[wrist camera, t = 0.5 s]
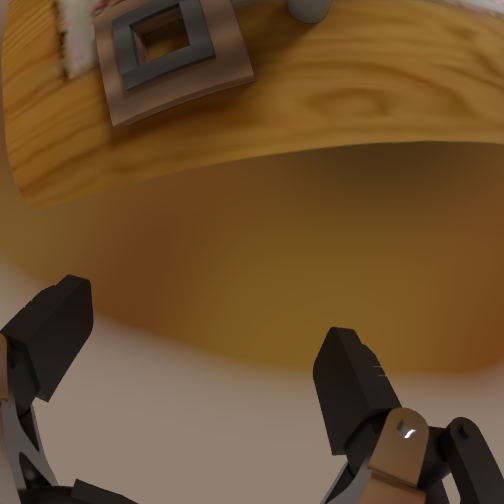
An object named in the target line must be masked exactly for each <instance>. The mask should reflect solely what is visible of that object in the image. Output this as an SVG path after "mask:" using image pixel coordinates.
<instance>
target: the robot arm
mask: <svg viewBox="0 0 504 504" xmlns="http://www.w3.org/2000/svg"><path fill="white" fill-rule="evenodd" d="M92 328H93V308H92V294H91V284H90V281H89V280H88V279H84V278H80V277H77V276H73V275H67V276H66V277H65V278H63V279H62V280H61V281H60V282H59V283H58V284H57V285H56V286H55V285H53V286H51V287H48V288H46V289H44V290H42V291H41V292H40V293H38V294H37V295H36V296H35V297H34V298H33V299H32V301H30V302H29V303H28V304H27V305H26V306H25V308H22V309H21V310H20V311H19V312H18V313H17V314H16V315H15V316H14V317H13V318H12V319H11V320H10V321H9V322H8V323H7V324H6V325H5V326H4V327H3V328H2V329H1V330H0V504H138V503H136V502H134V501H132V500H130V499H128V498H126V497H124V496H123V495H120V494H117V493H114V492H111V491H108V490H104V489H102V488H99V487H96V486H94V485H91V484H88V483H86V482H83V481H81V480H78V479H76V481H75V484H74V486H73V487H70V486H59V485H58V482H57V480H56V478H55V475H54V473H53V471H52V469H51V468H50V466H49V464H48V462H47V460H46V457H45V454H44V450H43V446H42V442H41V439H40V434H39V430H38V426H37V421H36V416H35V411H34V407H33V405H32V402H33V400H34V399H35V397H37V398H40V399H42V400H44V401H46V402H49V400H50V398H51V396H52V395H53V393H54V391H55V390H56V388H57V386H58V384H59V383H60V381H61V380H62V378H63V376H64V375H65V373H66V371H67V370H68V368H69V367H70V365H71V363H72V362H73V360H74V359H75V357H76V355H77V354H78V353H79V351H80V349H81V348H82V346H83V345H84V343H85V342H86V340H87V339H88V337H89V336H90V334H91V331H92ZM380 366H381V365H380V363H379V361H378V359H377V357H376V355H375V354H374V353H373V352H372V351H371V350H370V349H369V348H368V347H367V346H366V345H363V344H362V343H361V341H360V339H359V337H358V335H357V334H356V332H355V331H354V330H353V329H347V328H338V327H331V328H330V329H329V331H328V333H327V335H326V338H325V340H324V342H323V344H322V347H321V349H320V351H319V353H318V355H317V358H316V360H315V363H314V367H313V380H314V383H315V387H316V391H317V395H318V399H319V403H320V406H321V411H322V415H323V418H324V422H325V426H326V430H327V435H328V439H329V443H330V447H331V451H332V455H346V456H347V459H348V461H347V462H346V463H345V464H344V465H343V467H342V469H341V470H340V472H339V474H338V475H337V477H336V479H335V481H334V482H333V484H332V485H331V487H330V489H329V490H328V492H327V493H326V495H325V497H324V498H323V500H322V501H321V503H320V504H449V500H448V497H447V495H446V491H445V488H444V486H443V483H442V479H443V478H444V477H446V476H447V475H448V474H449V473H452V475H453V478H454V481H455V483H456V486H457V489H458V491H459V494H460V498H461V501H460V504H504V479H503V476H502V474H501V472H500V470H499V468H498V465H497V463H496V461H495V459H494V457H493V455H492V453H491V451H490V449H489V447H488V445H487V443H486V441H485V439H484V437H483V435H482V434H481V432H480V430H479V429H478V427H477V425H476V424H474V423H473V422H472V421H471V420H469V419H467V418H464V417H457V418H455V419H453V420H452V422H451V423H450V424H449V425H448V426H447V427H446V428H438V427H431V426H428V425H427V422H426V421H425V419H424V418H423V417H422V416H421V415H420V414H419V413H417V412H416V411H413V410H411V409H409V408H403V407H402V406H401V404H400V402H399V400H398V398H397V396H396V394H395V392H394V390H393V388H392V386H391V384H390V382H389V380H388V378H387V377H385V372H384V371H383V369H382V368H381V367H380Z"/></svg>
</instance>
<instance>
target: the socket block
mask: <svg viewBox="0 0 504 504" xmlns="http://www.w3.org/2000/svg"><path fill="white" fill-rule="evenodd" d="M180 19H183V20H184V24H185V27H186V31H187V35H188V38H189V42H190V45H189V46H186V47H184V48H181V49H178V50H176V51H173V52H171V53H168V54H166V55H163V56H161V57H159V58H156V59H154V60H152V61H150V60H149V56H148V51H147V47H146V42H145V38H144V35H145V34H147V33H149V32H151V31H153V30H156V29H158V28H160V27H163V26H165V25H167V24H170V23H172V22H175V21H177V20H180ZM93 21H94V29H95V36H96V43H97V50H98V56H99V62H100V68H101V73H102V79H103V84H104V89H105V94H106V98H107V103H108V107H109V112H110V116H111V120H112V124H113V126H128V125H130V124H133V123H135V122H137V121H139V120H142V119H144V118H146V117H149V116H151V115H153V114H156V113H158V112H161V111H163V110H166V109H168V108H171V107H174V106H176V105H179V104H182V103H185V102H187V101H190V100H193V99H196V98H199V97H202V96H205V95H208V94H211V93H214V92H218V91H221V90H224V89H228V88H231V87H235V86H238V85H242V84H246V83H250V82H254V81H256V78H255V74H254V71H253V68H252V64H251V61H250V58H249V54H248V51H247V48H246V45H245V42H244V39H243V35H242V32H241V29H240V26H239V23H238V20H237V17H236V14H235V11H234V8H233V5H232V2H231V0H125V1H123V2H121V3H119V4H117V5H115V6H114V7H112V8H110V9H108V10H107V11H105V12H103V13H101V14H100V15H98V16H96V17H95V18H93Z"/></svg>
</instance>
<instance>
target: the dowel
mask: <svg viewBox="0 0 504 504" xmlns="http://www.w3.org/2000/svg"><path fill="white" fill-rule="evenodd" d="M331 1H332V0H288V10H289V12H290V14H291V15H292V16H293V17H294V18H295V19H297V20H299V21H301V22H304V23H317V22H319V21H321V20H323V19H324V18H325V17H326V15H327V12H328V10H329V7H330V4H331Z"/></svg>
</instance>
